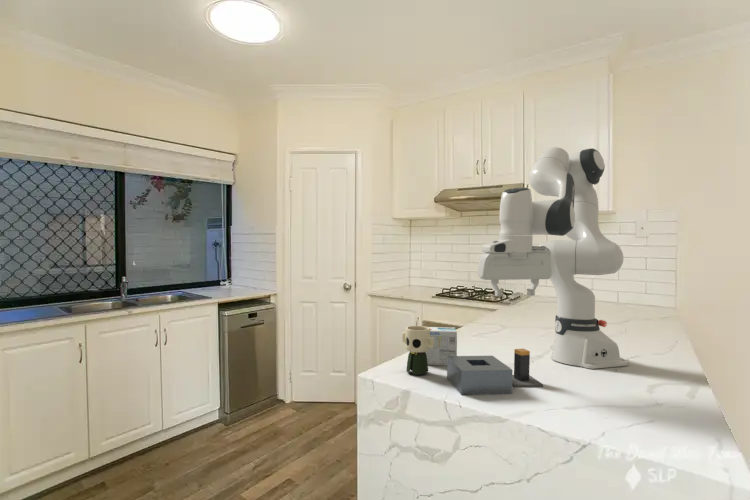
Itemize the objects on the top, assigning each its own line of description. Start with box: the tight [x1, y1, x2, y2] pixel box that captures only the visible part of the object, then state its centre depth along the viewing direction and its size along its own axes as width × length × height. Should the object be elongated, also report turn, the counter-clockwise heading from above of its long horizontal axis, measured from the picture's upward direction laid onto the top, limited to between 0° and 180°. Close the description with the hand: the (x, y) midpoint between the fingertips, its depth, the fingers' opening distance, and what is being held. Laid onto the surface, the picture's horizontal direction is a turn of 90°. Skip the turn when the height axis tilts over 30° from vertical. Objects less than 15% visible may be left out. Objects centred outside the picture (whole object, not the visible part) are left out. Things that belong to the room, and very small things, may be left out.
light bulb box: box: [425, 326, 458, 367], centre depth 129 cm, size 11×7×11 cm, turn 84°
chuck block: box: [446, 355, 514, 396], centre depth 111 cm, size 13×18×6 cm
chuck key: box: [513, 348, 531, 381], centre depth 112 cm, size 3×3×8 cm
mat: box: [512, 374, 544, 388], centre depth 112 cm, size 8×8×1 cm
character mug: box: [401, 325, 434, 375], centre depth 118 cm, size 11×7×13 cm, turn 49°
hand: (514, 295), depth 114 cm, fingers open, 8 cm apart
